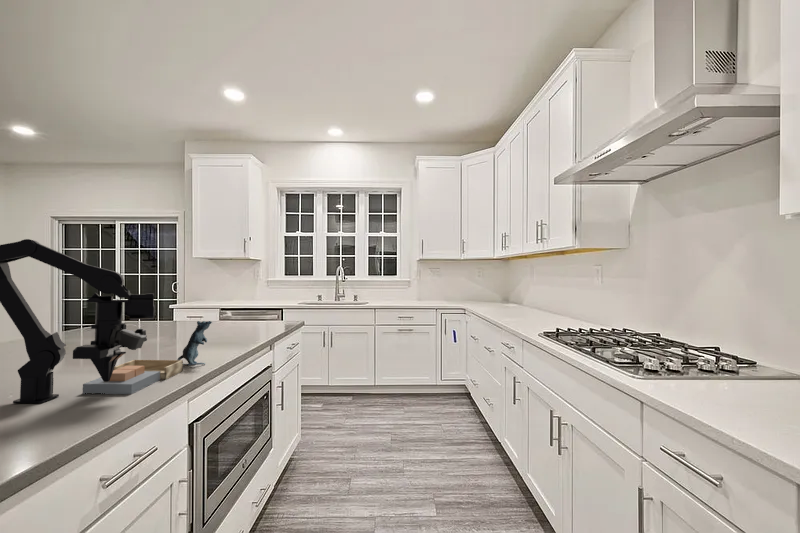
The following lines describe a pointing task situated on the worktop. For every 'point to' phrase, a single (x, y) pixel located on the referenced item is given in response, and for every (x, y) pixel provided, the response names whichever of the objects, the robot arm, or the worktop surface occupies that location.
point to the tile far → (137, 369)
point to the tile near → (122, 375)
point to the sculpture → (195, 343)
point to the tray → (158, 366)
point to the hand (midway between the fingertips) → (106, 381)
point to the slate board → (122, 384)
